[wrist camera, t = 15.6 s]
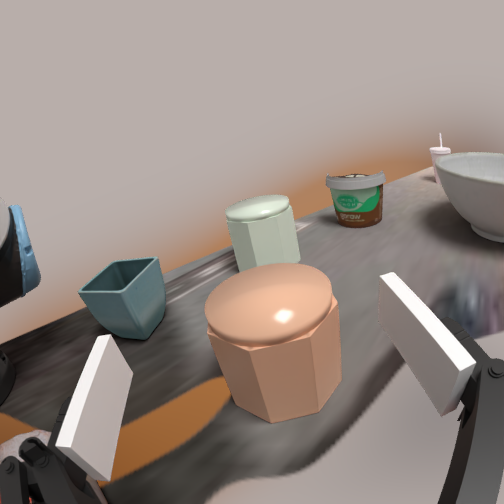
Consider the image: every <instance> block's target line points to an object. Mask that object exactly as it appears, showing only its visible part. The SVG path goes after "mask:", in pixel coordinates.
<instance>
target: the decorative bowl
mask: <svg viewBox="0 0 504 504" xmlns="http://www.w3.org/2000/svg"><path fill="white" fill-rule="evenodd" d="M435 167H436V171H437V174H438V177H439V179H440V182H441V184H442V187H443V189H444V191H445V193H446V195H447V197H448V198H449V200H450V202H451V203H452V205H453V206H454V207H455V209H456V210H457V211H458V212H459V214H460V215H461V216H462V217H463V218H464V219H466V220H467V221H468V222H469V223H471V227H472V229H473V231H474V232H476V233H477V234H478V235H480V236H482V237H484V238H486V239H489V240H493V241H497V242H504V154H499V153H485V152H466V153H455V154H449V155H445V156H442V157H439V158H438V159H437V160H436V161H435Z"/></svg>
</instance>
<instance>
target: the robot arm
mask: <svg viewBox="0 0 504 504" xmlns="http://www.w3.org/2000/svg"><path fill="white" fill-rule="evenodd" d="M40 280H41V275H40V271H39V268H38V265H37V262H36V259H35V256H34V253H33V249H32V246H31V243H30V239H29V236H28V232H27V229H26V225H25V221H24V217H23V213H22V209H21V207H20V206H19V205H14V206H12V205H11V206H9V207H7V205H6V204H5V202H4V200H3V199H2V198H0V307H2V306H4V305H6V304H8V303H10V302H12V301H14V300H16V299H18V298H20V297H23V296H25V295H26V293H28V292H29V291H31V290H33V289H34V288H36V287H37V286H38V285H39V283H40ZM378 322H379V323H380V325H381V326H382V328H383V329H384V330H385V332H386V333H387V335H388V336H389V338H390V339H391V340H392V342H393V343H394V345H395V346H396V348H397V349H398V351H399V352H400V354H401V355H402V357H403V358H404V360H405V361H406V363H407V364H408V366H409V367H410V369H411V370H412V372H413V373H414V375H415V376H416V378H417V379H418V381H419V382H420V384H421V386H422V387H423V388H424V390H425V392H426V393H427V395H428V397H429V398H430V400H431V401H432V403H433V404H434V406H435V408H436V409H437V411H438V413H439V414H440V416H441V417H442V416H443V415H446V414H448V413H449V412H451V411H453V410H455V409H456V408H457V406H458V404H459V402H460V400H461V401H462V403H463V404H464V408H463V410H462V412H461V414H460V416H459V418H458V420H457V421H460V420H461V422H460V427H459V431H458V436H457V440H456V444H455V449H454V452H453V456H452V460H451V464H450V467H449V471H448V474H447V477H446V480H445V484H444V486H443V489H442V492H441V495H440V498H439V501H438V504H496V501H497V497H498V493H499V488H500V484H501V479H502V474H503V469H504V361H503V360H501V359H497V358H496V359H491V358H490V357H489V356H488V355H487V354H486V353H485V352H484V351H483V349H482V348H481V347H480V346H479V345H478V344H477V343H476V342H475V341H474V339H473V338H472V337H470V335H469V334H468V333H467V332H466V331H464V329H463V328H462V327H461V326H460V324H459V323H458V322H456V321H454V320H452V319H450V318H449V317H445V318H443V319H441V320H439V319H438V318H437V317H436V316H435V315H434V314H433V313H432V312H431V310H430V309H429V308H428V307H427V306H426V305H425V304H424V303H423V302H422V301H421V300H420V299H419V298H418V297H417V296H416V295H415V294H414V293H413V292H412V291H411V289H410V288H409V287H408V286H407V285H406V284H405V283H404V282H403V281H402V280H401V279H400V278H399V277H398V276H397V275H396V274H395V273H394V272H392V273H388V274H385V275H381V276H380V280H379V313H378ZM15 375H16V371H15V367H14V366H13V364H12V363H11V361H10V360H9V358H8V357H7V356H6V355H5V354H4V353H3V352H2V351H1V350H0V405H1V404H2V402H3V401H4V400H5V398H6V397H7V395H8V394H9V392H10V390H11V388H12V386H13V384H14V381H15ZM132 376H133V372H132V371H131V369H130V367H129V366H128V364H127V362H126V361H125V359H124V357H123V356H122V354H121V352H120V350H119V349H118V347H117V345H116V343H115V341H114V339H113V338H112V336H111V334H110V335H103V336H98V338H97V340H96V342H95V344H94V346H93V349H92V351H91V353H90V356H89V358H88V360H87V363H86V365H85V367H84V370H83V372H82V375H81V377H80V379H79V382H78V384H77V387H76V390H75V392H74V395H73V397H68V398H67V399H66V400H65V402H64V403H63V404H62V406H61V409H60V411H59V416H57V419H56V423H55V424H54V427H53V430H52V433H51V436H50V439H49V441H48V444H47V446H46V445H45V444H44V443H43V442H42V441H41V440H40V439H39V438H37V437H29V438H26V439H25V440H24V441H23V442H22V443H21V445H20V447H19V451H18V454H19V457H20V458H22V459H23V460H24V461H23V462H21V461H20V460H18V459H17V458H16V457H15V456H7V457H5V458H4V459H3V460H2V462H1V464H0V497H1V504H102V503H101V501H100V499H99V498H98V496H97V495H96V493H95V491H94V490H93V488H92V486H91V484H90V483H89V482H88V481H87V480H86V477H87V474H88V475H89V476H91V477H92V478H93V479H94V480H101V481H110V478H111V472H112V466H113V461H114V456H115V450H116V445H117V441H118V435H119V431H120V426H121V422H122V417H123V413H124V409H125V404H126V400H127V396H128V392H129V388H130V384H131V380H132ZM29 497H30V498H31V501H32V502H31V503H30V499H29Z"/></svg>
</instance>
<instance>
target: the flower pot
mask: <svg viewBox="0 0 504 504" xmlns="http://www.w3.org/2000/svg"><path fill="white" fill-rule="evenodd" d="M78 294H79V295H80V297H81V298H82V300H83V301H84V303H85V304H86V306H87V307H88V309H89V310H90V311H91V313H92V314H93V316H94V317H95V318H96V320H97V321H98V322H99V323H100V324H101V325H102V326H104V327H105V328H106V329H107V330H109V331H111V332H112V333H114V334H116V335H118V336H120V337H123V338H133V339H142V340H145V339H147V338H148V337H149V336H150V334H151V333H152V332H153V330H154V329H155V328H156V326H157V325H158V324H159V323H160V321H161V320H162V319H163V315H164V311H165V304H166V291H165V285H164V281H163V276H162V273H161V268H160V264H159V259H158V257H147V258H137V259H128V260H117V261H113V262H111V263H110V264H109V265H108V266H106V267H105V268H104V269H103V270H102V271H100V272H99V273H98V274H97V275H96V276H95V277H94V278H92V279H91V280H90V281H89V282H88V283H86V284H85V285H84V286H83V287H82V288H81V289H80V290H79V291H78Z"/></svg>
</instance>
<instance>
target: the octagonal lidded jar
mask: <svg viewBox="0 0 504 504" xmlns="http://www.w3.org/2000/svg"><path fill="white" fill-rule="evenodd" d="M205 314H206V317H207V320H208V332H207V334H208V337H209V339H210V342H211V345H212V347H213V350H214V352H215V355H216V357H217V360H218V362H219V365H220V367H221V370H222V372H223V375H224V377H225V380H226V382H227V385H228V387H229V389H230V392H231V394H232V397H233V399H234V401H235V404H236V405H237V406H239V407H241V408H243V409H245V410H246V411H248V412H250V413H252V414H254V415H256V416H258V417H260V418H262V419H264V420H266V421H268V422H270V423H276V422H281V421H285V420H290V419H294V418H298V417H302V416H306V415H310V414H314V413H318V412H319V411H320V410H321V409H322V407H323V406H324V404H325V403H326V402H327V400H328V399H329V397H330V396H331V395H332V393H333V392H334V390H335V389H336V387H337V386H338V385H339V383H340V382H341V380H342V373H341V346H340V327H339V311H338V302H337V301H336V299H335V297H334V296H333V294H332V288H331V283H330V281H329V279H328V278H327V276H326V275H325V274H324V273H322V272H321V271H319V270H318V269H316V268H313V267H311V266H307V265H303V264H296V263H276V264H268V265H262V266H258V267H254V268H251V269H248V270H245V271H242V272H240V273H238V274H236V275H233V276H232V277H230V278H228V279H226V280H225V281H223V282H222V283H221V284H219V285H218V286H217V287H216V288H215V289H214V290H213V291H212V292H211V294H210V295H209V297H208V298H207V301H206V303H205Z"/></svg>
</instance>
